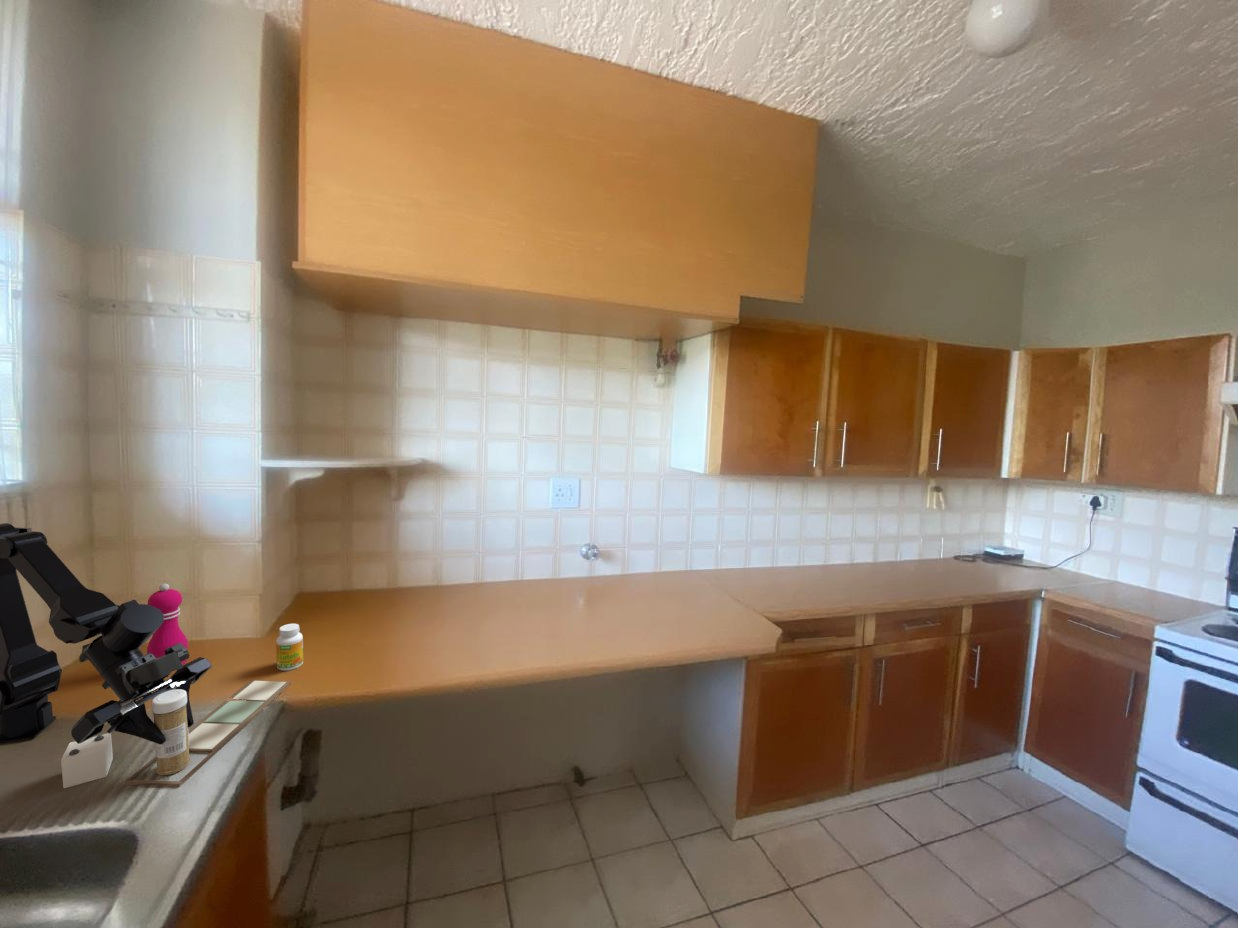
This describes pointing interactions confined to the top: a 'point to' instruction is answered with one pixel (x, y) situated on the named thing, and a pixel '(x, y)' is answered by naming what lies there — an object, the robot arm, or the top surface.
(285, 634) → the supplement bottle
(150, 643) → the pepper mill
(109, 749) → the die
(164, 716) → the tan spice jar
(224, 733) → the game board
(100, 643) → the robot arm
